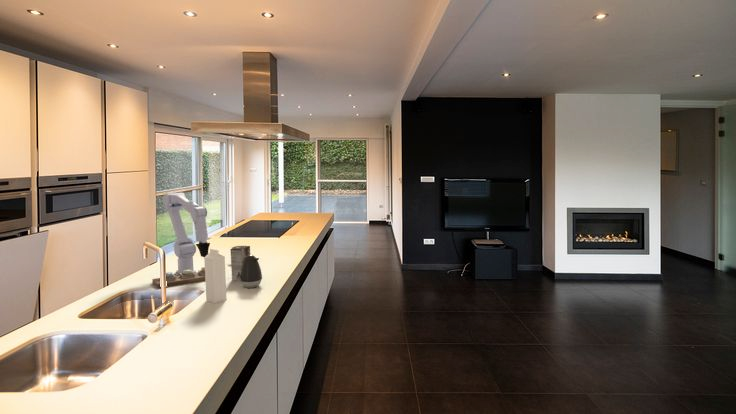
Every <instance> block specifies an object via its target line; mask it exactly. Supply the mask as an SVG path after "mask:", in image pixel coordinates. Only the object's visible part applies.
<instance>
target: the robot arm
mask: <svg viewBox="0 0 736 414" xmlns="http://www.w3.org/2000/svg"><path fill="white" fill-rule="evenodd" d="M162 199H163V200H162V202H163V205H164V208H165V210H166V211H167V212H168V215H169V218H170V221H171V224H172V227H173V230H174V234H175V236H176V241H175V242H174V244H173V252H174V254H175V256H176V257H177V270H176V271H175V272H176V273H178V274H179V275H180V273H183V270H191V271H192V272H193V273H196V272H197V271H196V270H195V268H194V256H195V254H196V253H197V249H198V251H199V254H200V257H202V258H204V257H205V256H206V255H208V254H209V250H210V245H211V243H210V242H208V240H211V237H208V235H209V234H208V227H207V220H206V217H207V215H208V210H207V208H206V207H205V206H204V205H202V206H200V205H199V204H198V203H196V202H195V201H194V200H189V199H187V197H186V194H185V193H184V192H182V191H181V192H172V193H171V192H169V193H167V192H166V193H164V194H163V198H162ZM183 207H184V210H185V211H186V212H188V213H189V214H190V217H191V219H192V222H193V225H194V232H195V239H196V240H195V242H198V243H194V241H193V239H192V238H189V237H188V235H187V233H186V232H187V231H186V228H185V226H184V222H183V220H182V217H181V214H180V210H182V209H183Z"/></svg>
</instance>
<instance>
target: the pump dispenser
mask: <svg viewBox="0 0 736 414" xmlns="http://www.w3.org/2000/svg"><path fill="white" fill-rule="evenodd" d="M259 259H260V258H259V257H256V256H255V255H253V254H250V255H248V256H246V257H245V259H244V261H243V263H242V267H241V272H240V283H241V285H242V286H243V287H244V288H247V289H253V288H257V287H258V286H260V284H261V283H262V280H263V274H262V269H261V265H260V262H259Z"/></svg>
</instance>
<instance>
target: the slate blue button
mask: <svg viewBox="0 0 736 414" xmlns="http://www.w3.org/2000/svg"><path fill="white" fill-rule="evenodd" d="M165 273H166V278H168V277H173V275H174V274H173V272H171V271H167V272H165ZM172 274H173V275H172Z"/></svg>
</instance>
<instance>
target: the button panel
mask: <svg viewBox="0 0 736 414" xmlns="http://www.w3.org/2000/svg"><path fill="white" fill-rule="evenodd" d="M172 275H173V277H168V278H166V281H167V286H168V287H167V288H169V287H176V286H180V285H188V284H194V283H199V282H205V272H202V271H201V269H200V270H197V271H196V272H195V273H193V272H192V274H188V275H183V273H180V274H179V275H178V274H176V275H175V274H173V273H172ZM151 280H152V284H153V285H154V286H155V287H156V289H161V288H160V277H157V278H156V277H155V278H152V279H151Z"/></svg>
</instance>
